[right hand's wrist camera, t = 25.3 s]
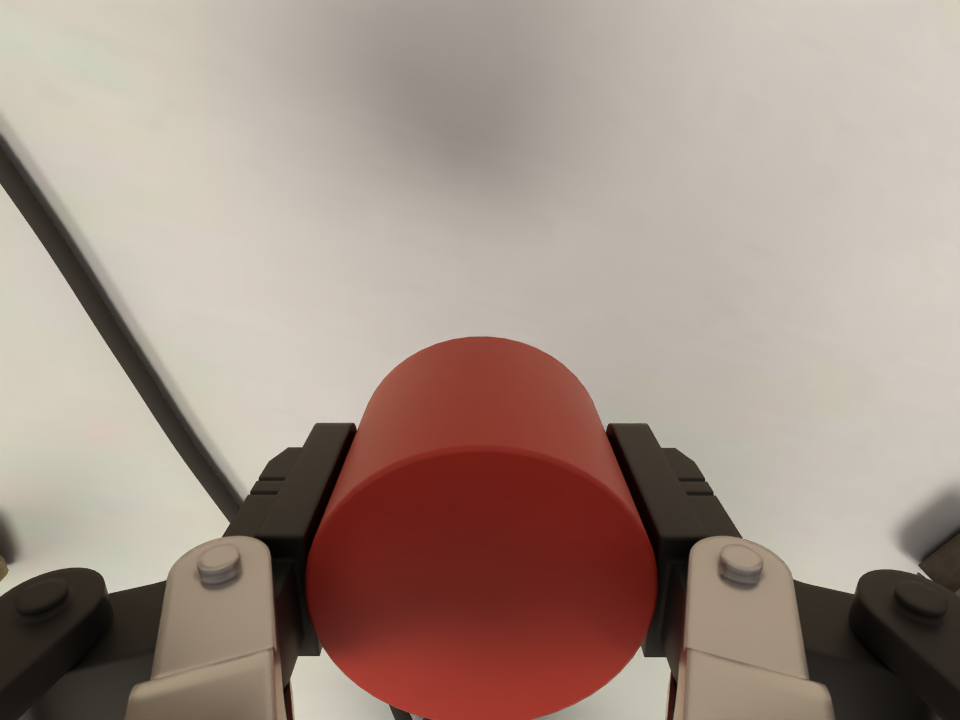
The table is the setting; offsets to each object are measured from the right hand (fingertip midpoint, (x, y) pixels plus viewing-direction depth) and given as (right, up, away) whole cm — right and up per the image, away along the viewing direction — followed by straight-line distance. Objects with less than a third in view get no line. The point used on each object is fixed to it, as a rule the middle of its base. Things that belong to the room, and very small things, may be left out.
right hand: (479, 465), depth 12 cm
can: (0, 0, 0) cm, 0 cm away
